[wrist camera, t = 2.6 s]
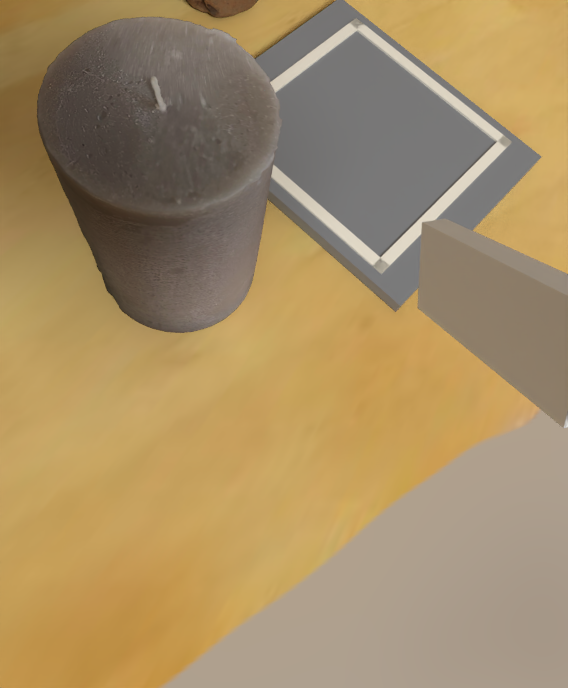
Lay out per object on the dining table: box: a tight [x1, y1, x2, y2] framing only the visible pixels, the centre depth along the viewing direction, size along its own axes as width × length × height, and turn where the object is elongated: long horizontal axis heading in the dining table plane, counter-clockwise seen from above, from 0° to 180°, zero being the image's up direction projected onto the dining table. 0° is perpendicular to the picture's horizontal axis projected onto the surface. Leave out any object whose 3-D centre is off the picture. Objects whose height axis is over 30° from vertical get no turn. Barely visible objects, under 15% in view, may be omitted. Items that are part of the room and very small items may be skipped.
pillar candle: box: [37, 17, 283, 333], centre depth 27 cm, size 10×10×15 cm
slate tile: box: [255, 0, 541, 312], centre depth 38 cm, size 20×17×1 cm
